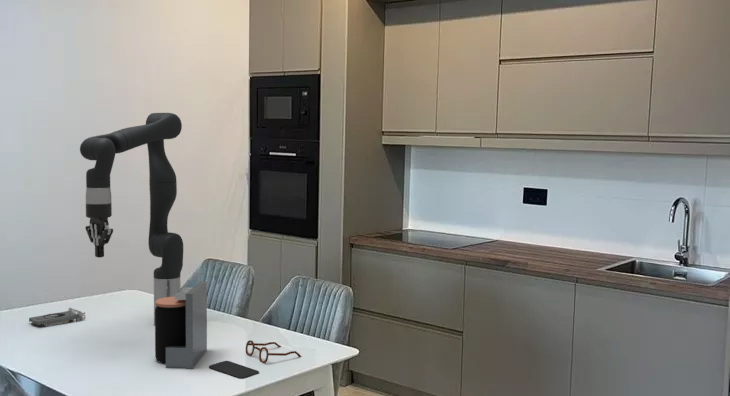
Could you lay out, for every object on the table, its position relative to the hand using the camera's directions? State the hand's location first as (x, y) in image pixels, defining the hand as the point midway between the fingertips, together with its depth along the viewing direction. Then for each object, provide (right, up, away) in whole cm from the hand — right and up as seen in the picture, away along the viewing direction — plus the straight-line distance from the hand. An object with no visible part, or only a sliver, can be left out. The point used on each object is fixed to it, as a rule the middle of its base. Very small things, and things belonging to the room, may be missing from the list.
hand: (99, 256), depth 215 cm
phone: (+45, -32, -17) cm, 58 cm away
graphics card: (-28, -27, +33) cm, 51 cm away
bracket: (+29, -30, -8) cm, 43 cm away
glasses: (+55, -31, -3) cm, 63 cm away
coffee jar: (+26, -30, -8) cm, 40 cm away
